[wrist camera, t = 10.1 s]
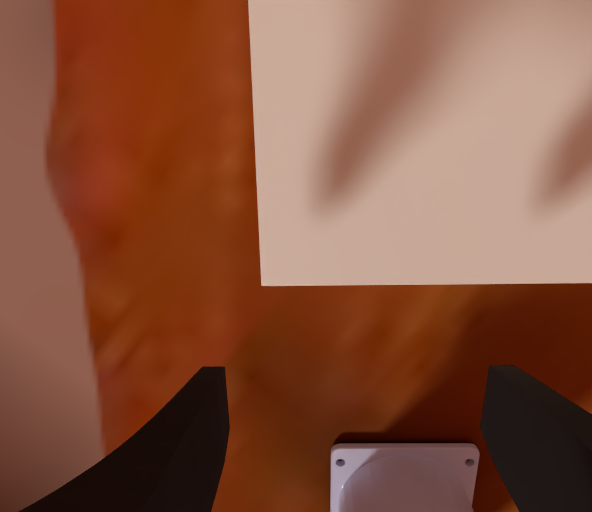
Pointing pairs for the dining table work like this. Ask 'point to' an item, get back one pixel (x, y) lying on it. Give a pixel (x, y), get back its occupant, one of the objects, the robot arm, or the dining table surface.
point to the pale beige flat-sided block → (423, 141)
